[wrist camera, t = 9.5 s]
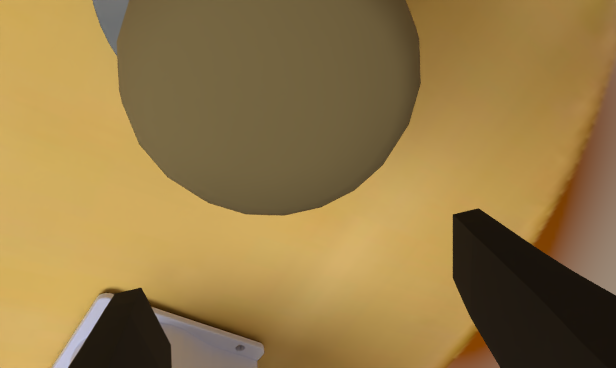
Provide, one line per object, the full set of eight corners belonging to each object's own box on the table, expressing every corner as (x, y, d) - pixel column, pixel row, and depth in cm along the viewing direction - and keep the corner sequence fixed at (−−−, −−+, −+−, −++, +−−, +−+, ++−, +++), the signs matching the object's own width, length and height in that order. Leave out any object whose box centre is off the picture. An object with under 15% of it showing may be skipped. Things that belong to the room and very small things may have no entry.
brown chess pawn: (371, -53, 17) (557, 58, 8) (272, 90, 19) (323, 307, 10) (212, -186, 14) (203, -258, 5) (119, -1, 16) (-2, 179, 7)
